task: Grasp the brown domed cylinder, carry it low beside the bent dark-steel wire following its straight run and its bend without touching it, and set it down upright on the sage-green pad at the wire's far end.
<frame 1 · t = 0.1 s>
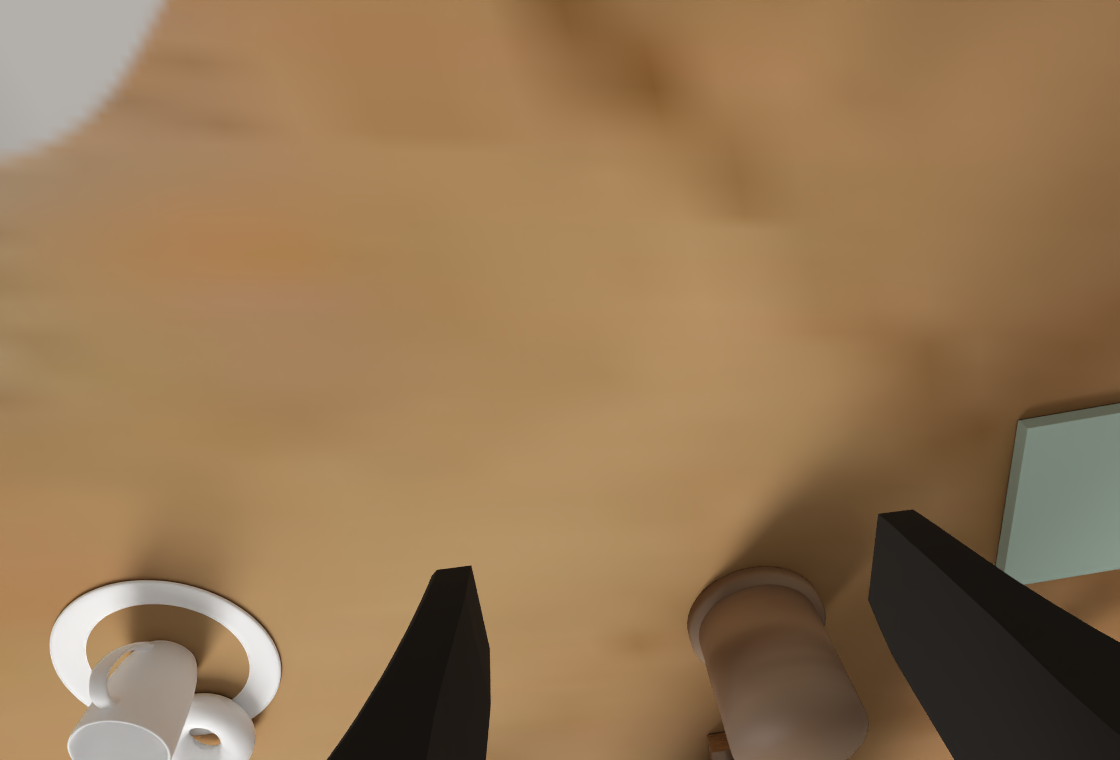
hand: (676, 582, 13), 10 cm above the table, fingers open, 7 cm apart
teacup and saucer: (128, 688, 28), on the table
buzz wire: (737, 748, 31), on the table
brown domed cylinder: (753, 617, 28), on the table
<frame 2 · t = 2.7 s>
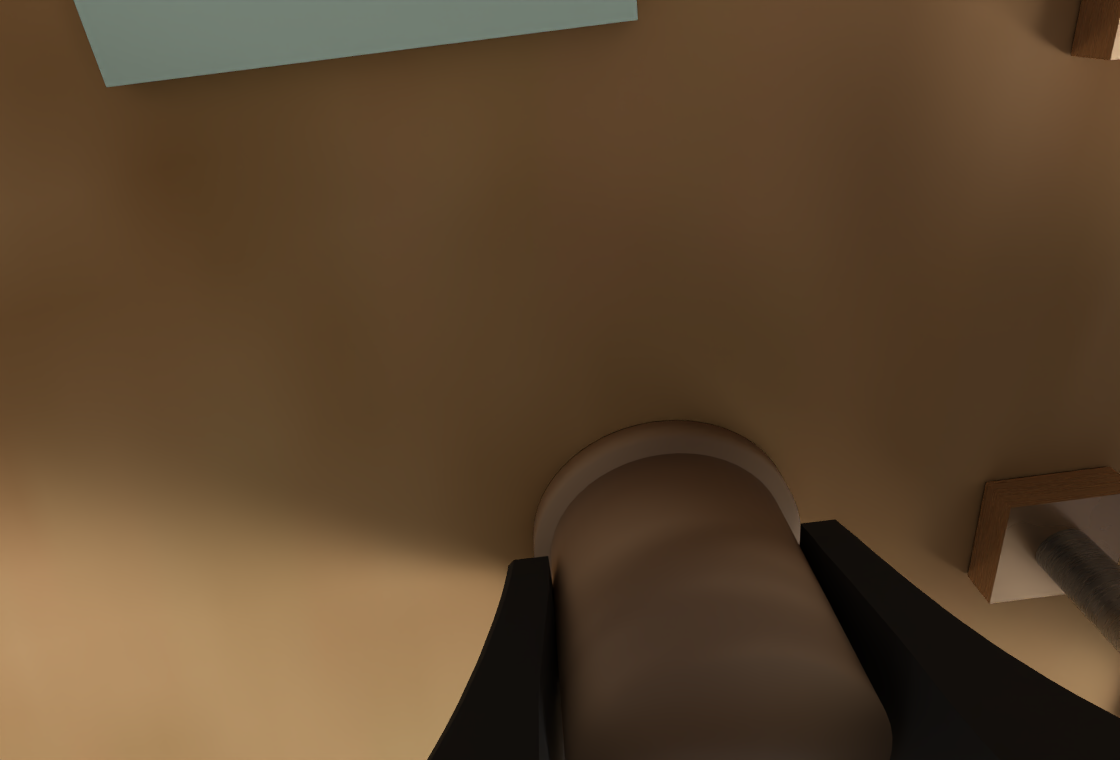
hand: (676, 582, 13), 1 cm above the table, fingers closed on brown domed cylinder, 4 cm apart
buzz wire: (1035, 523, 15), on the table
brown domed cylinder: (662, 530, 14), on the table, touching gripper
when the fingers open (3 cm above the table, at t = 8.1 s): brown domed cylinder stays where it is, resting on pad.
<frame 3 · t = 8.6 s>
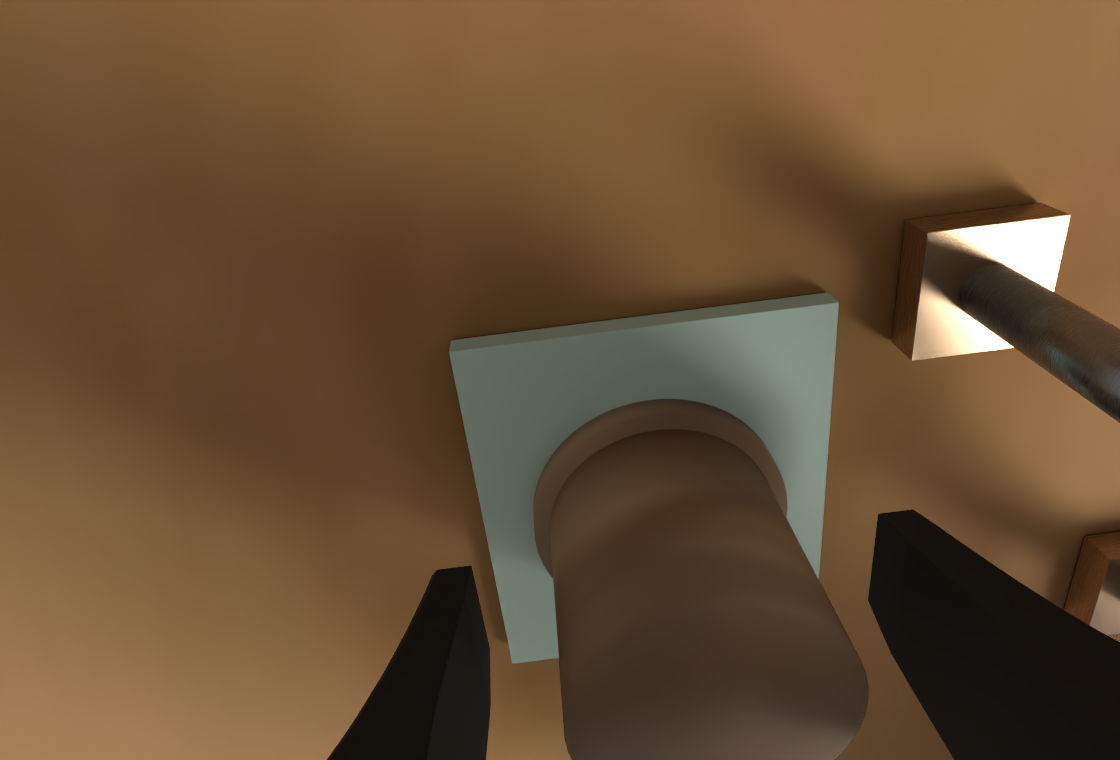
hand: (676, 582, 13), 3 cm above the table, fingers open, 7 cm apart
pad: (651, 491, 15), on the table
brown domed cylinder: (656, 505, 15), resting on pad
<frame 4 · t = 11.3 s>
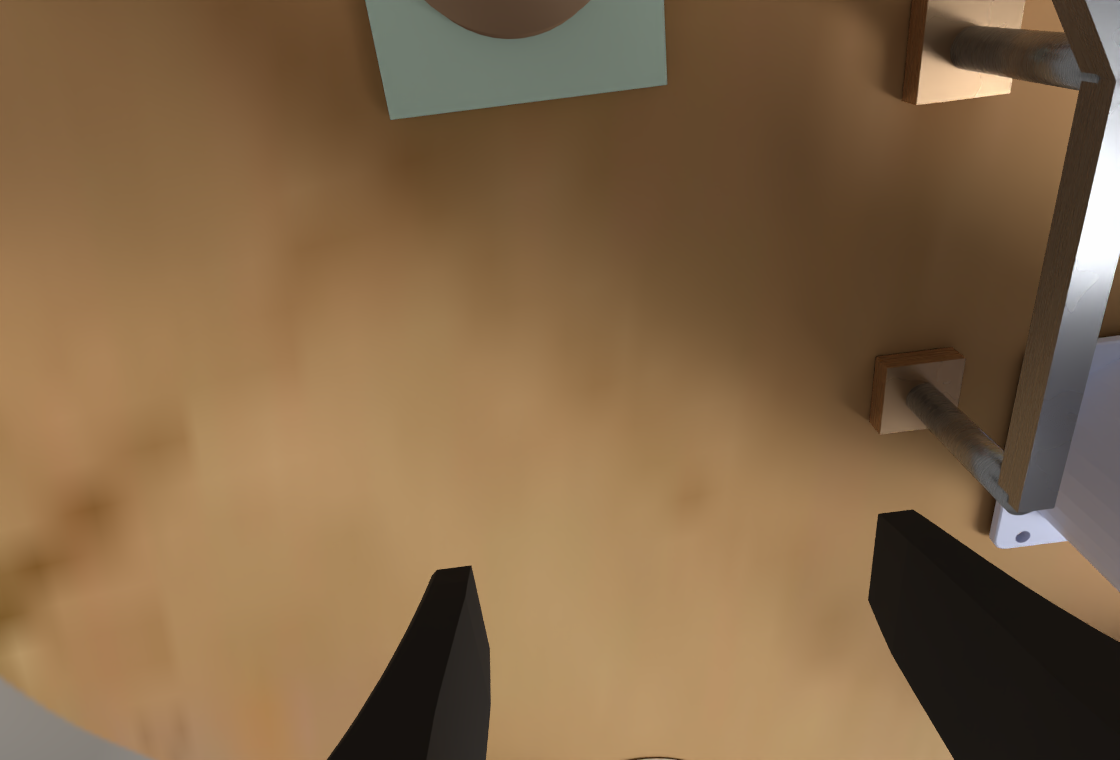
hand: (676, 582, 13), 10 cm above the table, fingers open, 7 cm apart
buzz wire: (909, 385, 24), on the table
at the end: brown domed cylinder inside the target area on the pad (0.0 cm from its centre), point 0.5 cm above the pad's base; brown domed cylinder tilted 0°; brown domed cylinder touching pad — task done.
